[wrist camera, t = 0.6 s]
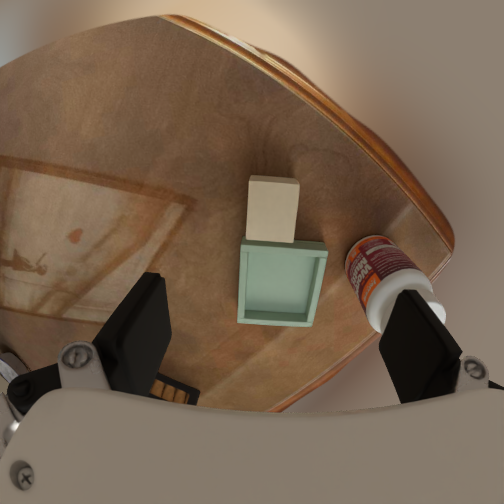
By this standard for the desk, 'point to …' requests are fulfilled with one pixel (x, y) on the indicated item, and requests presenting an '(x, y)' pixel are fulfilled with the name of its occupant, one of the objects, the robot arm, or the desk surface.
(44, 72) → the desk surface
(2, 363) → the bowl
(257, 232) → the beige block
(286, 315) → the shallow square green tray
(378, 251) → the pill bottle
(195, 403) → the ammunition clip
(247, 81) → the desk surface
